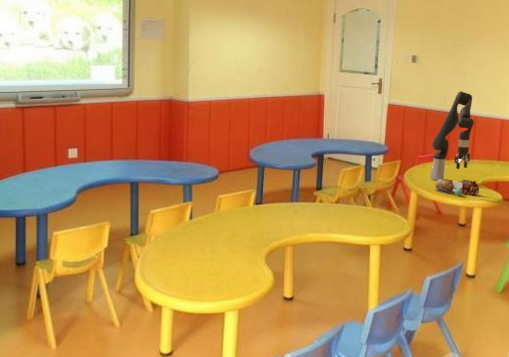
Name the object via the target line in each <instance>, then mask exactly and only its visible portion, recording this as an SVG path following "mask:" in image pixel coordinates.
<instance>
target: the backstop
mask: <svg viewBox="0 0 509 357" xmlns="http://www.w3.org/2000/svg"><path fill="white" fill-rule="evenodd" d="M452 182H453V184H454V188H457V189H461V190H462V181H461V182H460V181H458V180H452Z"/></svg>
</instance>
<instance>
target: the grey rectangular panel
mask: <svg viewBox="0 0 509 357" xmlns="http://www.w3.org/2000/svg"><path fill="white" fill-rule="evenodd" d="M456 189H457V188H453V190H452V192H450V193H448V192H445V191H441V190H437V189H435V191H436V192H438V193H442V194H445V195H448V194H452V193H455V190H456Z"/></svg>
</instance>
